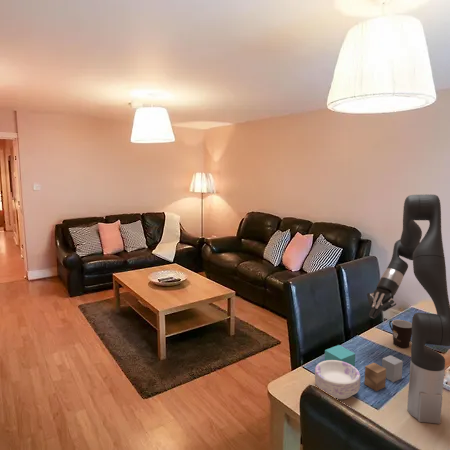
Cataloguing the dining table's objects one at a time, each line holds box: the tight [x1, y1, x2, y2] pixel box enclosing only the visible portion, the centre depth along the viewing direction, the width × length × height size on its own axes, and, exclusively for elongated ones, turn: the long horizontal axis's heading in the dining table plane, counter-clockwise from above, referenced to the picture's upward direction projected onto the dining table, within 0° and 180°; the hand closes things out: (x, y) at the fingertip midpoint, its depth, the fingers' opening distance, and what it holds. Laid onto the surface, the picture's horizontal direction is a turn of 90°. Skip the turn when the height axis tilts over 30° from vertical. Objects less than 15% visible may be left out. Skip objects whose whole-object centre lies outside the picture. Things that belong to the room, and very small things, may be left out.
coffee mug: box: [388, 319, 412, 349], centre depth 153 cm, size 12×9×10 cm
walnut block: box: [363, 362, 387, 392], centre depth 123 cm, size 5×5×7 cm
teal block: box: [324, 344, 356, 368], centre depth 132 cm, size 8×8×8 cm
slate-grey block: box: [381, 354, 404, 383], centre depth 128 cm, size 5×5×7 cm
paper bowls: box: [314, 360, 361, 400], centre depth 120 cm, size 15×15×8 cm
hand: (371, 317), depth 138 cm, fingers closed
